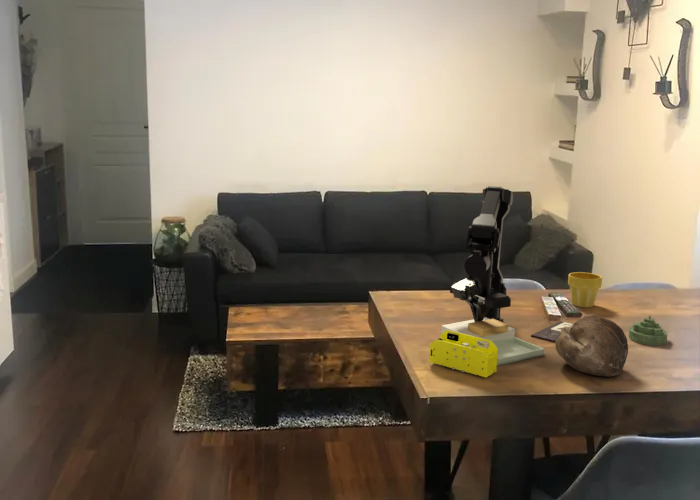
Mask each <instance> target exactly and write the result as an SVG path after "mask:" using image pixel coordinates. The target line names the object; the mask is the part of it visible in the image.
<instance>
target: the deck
mask: <svg viewBox="0 0 700 500" xmlns="http://www.w3.org/2000/svg"><path fill="white" fill-rule="evenodd" d="M484 320H489V319H488V318H486V317H484V319H483V321H484ZM473 322H475V321H474V318H473V319H469V320H464V321H457V322H453V323H448V324H441V326H440V327H441V328H440V334H442V333H443V332H445V331H446V330H449V331H454V332H458V333H462V334H466V335H470V336H474V337H478V338H482V339H487V340H491V341H492V342H493V341H497V340H502V339H507V338H512V337H516V336H515V335H516V328H514V327H512V326H509V325H508V332H504V333H499V334H495V335H490V336H485V337H482V336H479V335H477V334H475V333H472V332H470V331H468V323H473ZM451 334H453V333H451ZM449 337H450V336H449ZM453 338H454V336H453ZM484 342H487V341H484Z"/></svg>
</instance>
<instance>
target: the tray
mask: <svg viewBox="0 0 700 500" xmlns="http://www.w3.org/2000/svg"><path fill="white" fill-rule="evenodd" d="M493 343H494V344H495V346H496V347H497V348H498V354H497V366H504V365H508V364H511V363H512V364H513V363H516V362H520V361H524V360H529V359H533V358H537V357H541V356H545V348H544V347H541V346H539V345H536V344H533V343H532V342H530V341H527V340H526V341H525V340H523V339H522V338H518V337H516V336H515V337H512V338H507V339H502V340H497V341H493ZM488 348H489V346H488Z"/></svg>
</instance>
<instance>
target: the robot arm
mask: <svg viewBox="0 0 700 500" xmlns="http://www.w3.org/2000/svg"><path fill="white" fill-rule="evenodd" d="M513 199H514V193H513V191H512V190H510V189H508V188H504V187H502V186H493V185H491V186H486V187H485V188H483V189H482V195H481V202H482V207H481V211H480V213H479V216H477V217H475V218H473V220H472V223H471V225H470V226H469V227H468V230H467V231H468V232H467V238H466V243H465V249H464V250H466V251H470V255H469V256H468V257H467V259H466V260H465V262H464V267H463V268H464V271H465V273H466V274H465V278H464V279H461V280H459V281H457V282H455V281H454V282H452V284H450V287H449V293H450V294H452V295H453V298H454V299H459V300H460V301H463V302H464V301H465V302H466V304H468V305H469V307H470V311H471V313H472V316H473V317H472V318H473V319H474V321H475V322H478V321H483V319H484V317H486V318H488V319H495V320H498V321H500V322H504V318H501V310H502V309H503V308H508V307H509V308H510V307H511V306H512V305H511V303H512V298H511V297H510V296H509V295H507V294H508V293H507V287H506V284H505V283H504V276H503V274H502V272H501V270H500V259H501V248H502V247H501V246H502V237H503V229H504V228H503V226H504V219H505V218H506V216H507V215H508V214H509V212H510V210H511V206H512V205H513V201H514V200H513Z"/></svg>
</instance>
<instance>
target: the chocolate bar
mask: <svg viewBox="0 0 700 500" xmlns="http://www.w3.org/2000/svg"><path fill="white" fill-rule="evenodd" d="M572 324H573V323H569V322H565V321H557V322H555V323H554V324H551V325H550V326H547V327H545V328H543V329H540V330H539V331H536V332H534V333H532V334H530V337H531V338H536V339H538V340H543V341H547V342H551V343H554V344H556V341H557V339H558V338H559V336H560V331H561V330H562V329H563V328H564V327H571V326H572Z"/></svg>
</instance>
